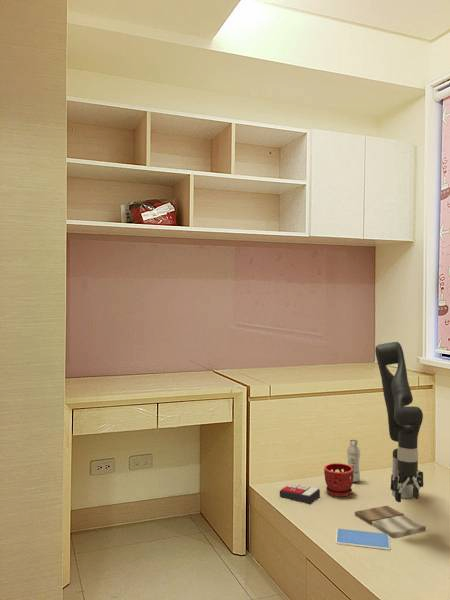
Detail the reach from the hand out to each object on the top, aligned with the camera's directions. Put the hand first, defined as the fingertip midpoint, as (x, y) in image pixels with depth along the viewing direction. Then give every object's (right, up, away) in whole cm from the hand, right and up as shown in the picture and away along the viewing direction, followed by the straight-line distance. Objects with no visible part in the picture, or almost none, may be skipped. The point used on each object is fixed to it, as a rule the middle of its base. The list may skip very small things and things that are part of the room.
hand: (406, 500), depth 206 cm
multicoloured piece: (-36, -12, +35) cm, 52 cm away
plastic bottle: (-8, -12, +55) cm, 57 cm away
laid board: (-7, -12, +14) cm, 19 cm away
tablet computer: (-19, -13, -7) cm, 24 cm away
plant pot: (-18, -12, +39) cm, 45 cm away
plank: (-2, -12, +4) cm, 13 cm away
